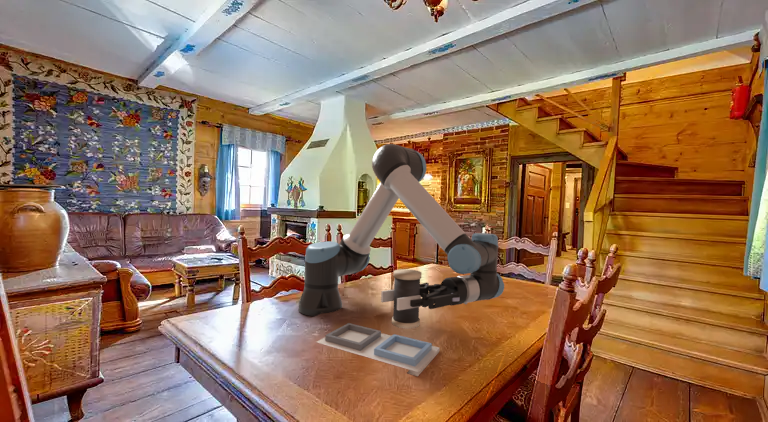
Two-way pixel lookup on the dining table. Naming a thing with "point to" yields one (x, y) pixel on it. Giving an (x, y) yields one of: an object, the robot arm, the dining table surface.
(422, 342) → the grey flat tray
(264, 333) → the dining table surface
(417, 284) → the cable spool
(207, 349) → the dining table surface
